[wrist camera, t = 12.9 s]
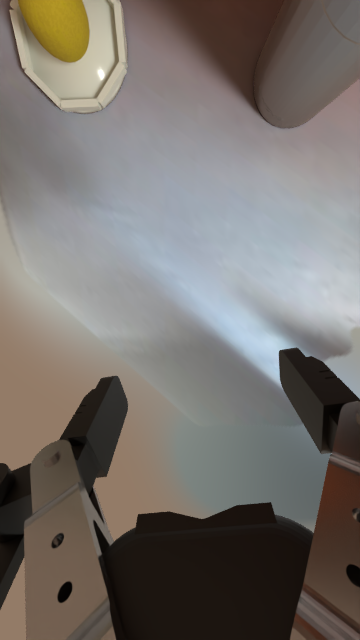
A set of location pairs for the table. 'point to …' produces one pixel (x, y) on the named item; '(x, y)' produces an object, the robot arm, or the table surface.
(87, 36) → the lemon
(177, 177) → the table surface
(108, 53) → the dish
